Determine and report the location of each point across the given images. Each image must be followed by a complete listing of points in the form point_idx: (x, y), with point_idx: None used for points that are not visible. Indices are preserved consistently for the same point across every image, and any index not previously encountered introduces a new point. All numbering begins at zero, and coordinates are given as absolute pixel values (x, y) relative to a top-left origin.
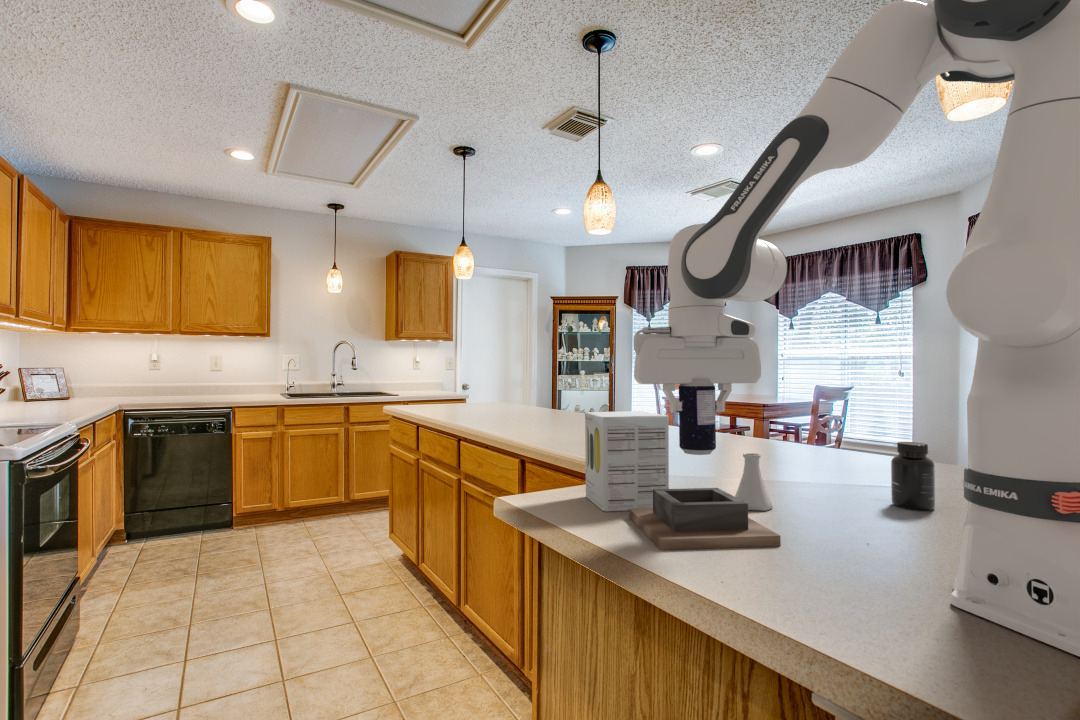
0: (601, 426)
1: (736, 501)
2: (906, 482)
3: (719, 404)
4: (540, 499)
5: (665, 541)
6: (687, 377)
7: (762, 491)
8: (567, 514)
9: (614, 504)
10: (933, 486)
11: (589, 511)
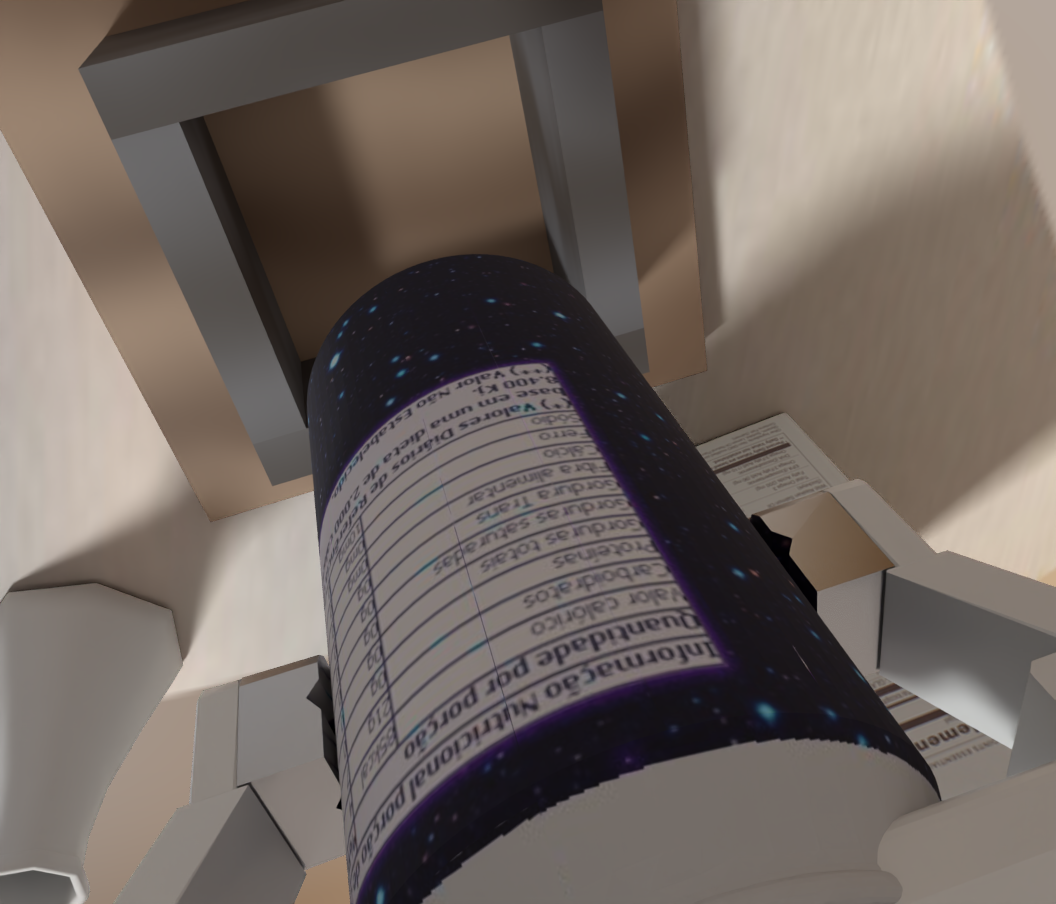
0: None
1: (161, 120)
2: None
3: (272, 737)
4: (992, 536)
5: None
6: (1025, 894)
7: (7, 685)
8: (942, 342)
9: (753, 444)
10: None
11: (842, 408)
